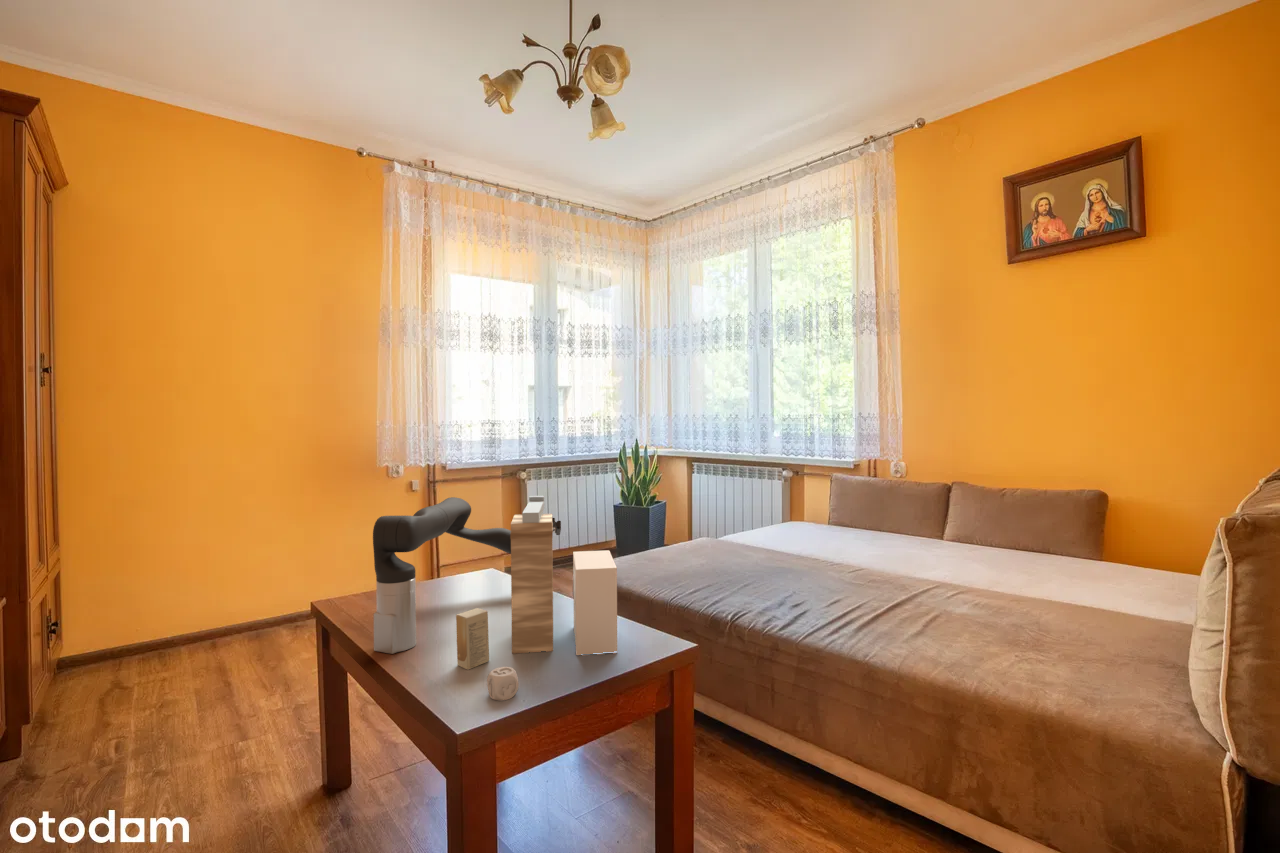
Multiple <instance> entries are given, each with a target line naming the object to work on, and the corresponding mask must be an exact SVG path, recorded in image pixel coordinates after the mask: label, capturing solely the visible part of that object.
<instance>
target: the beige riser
mask: <svg viewBox="0 0 1280 853" xmlns="http://www.w3.org/2000/svg"><path fill="white" fill-rule="evenodd" d="M572 553H573V554H572V560H573V561H572V562H573V563H572V564H573V566H572V568H573V570H572V574H573V576H572V577H573V584H572V585H573V587H572V588H573V589H572V590H573V593H572V594H573V632H574V633H573V634H575V635H574V644H575V645H576V646H575V653H576V654H575V655H581V654H593V653H603V652H614V651H617V652H618V574H617V573H618V570H617V569H618V567H617V565H616V563H615V561H614V558H613V556H612V553H611V551H610V550H609V549H608V550H583V551H582V550H580V551H573V552H572Z"/></svg>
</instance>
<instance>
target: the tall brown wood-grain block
mask: <svg viewBox="0 0 1280 853" xmlns="http://www.w3.org/2000/svg"><path fill="white" fill-rule="evenodd" d="M552 518H553V513H542V516H541V519H540V521H539V523H523V522H522V514H514V515H513V518H512V521H511V522H510V530H511V532H510V539H511V554H510V569H511V570H510V574H511V575H510V577H511V578H510V579H511V581H510V585H511V586H510V587H511V590H510V592H511V593H510V595H511V597H510V598H511V654H526V653H527V654H529V652H530V653H542V652H541V651H546V652H554V590H553V588H554V581H553V580H554V579H553V578H554V576H553V575H554V574H553V573H554V572H553V571H554V568H553V567H554V565H553V564H554V563H553V562H554V561H553V560H554V559H553V558H554V557H553V537H554V536H553V534H554V533H553V522H552Z"/></svg>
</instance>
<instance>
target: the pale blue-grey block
mask: <svg viewBox="0 0 1280 853" xmlns="http://www.w3.org/2000/svg"><path fill="white" fill-rule="evenodd" d="M528 498H529V500H528V503H527V505H526V507H524V509H523V511H522V514H521V515H522V522H523V523H539V521H540V519H541V516H542V514H544V513H543V512H544V511H545V495H529V497H528Z"/></svg>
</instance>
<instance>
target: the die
mask: <svg viewBox="0 0 1280 853" xmlns="http://www.w3.org/2000/svg"><path fill="white" fill-rule="evenodd" d="M486 679H487V680H486V687H487V692H488V695H489V696H490V699H492V700H494V701H499V702H500V701H502V702H503V701H507V700H510V699H512V698H513V697H514V696H515V695H516V694H517V693H518V691H519V687H520V686H519V677H518V673H517V671H516V670H515V669H514V668H513V667H511V666H499V667H496V668H493V669H492V670H491V671H489V674H488V675H487V678H486Z"/></svg>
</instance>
